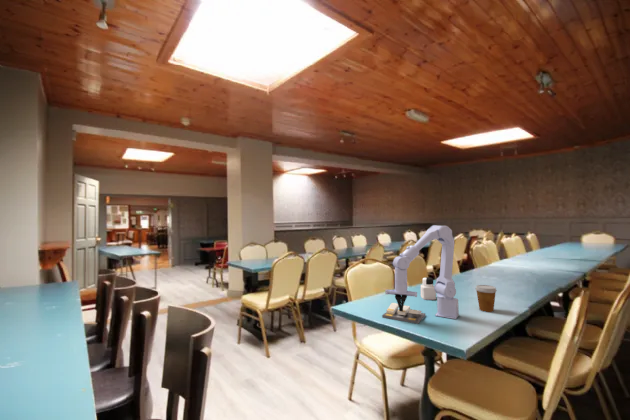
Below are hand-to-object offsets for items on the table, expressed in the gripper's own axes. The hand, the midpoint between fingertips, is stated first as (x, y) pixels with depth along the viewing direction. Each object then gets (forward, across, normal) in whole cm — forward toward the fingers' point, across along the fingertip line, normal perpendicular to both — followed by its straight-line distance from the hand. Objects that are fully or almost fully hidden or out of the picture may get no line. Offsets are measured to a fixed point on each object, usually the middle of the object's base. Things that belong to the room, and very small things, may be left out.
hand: (401, 310), depth 148 cm
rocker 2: (+1, -1, -3) cm, 3 cm away
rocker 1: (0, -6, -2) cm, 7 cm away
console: (+4, -1, -3) cm, 5 cm away
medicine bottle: (+3, -12, -42) cm, 44 cm away
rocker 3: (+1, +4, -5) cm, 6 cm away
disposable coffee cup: (+3, -40, -26) cm, 48 cm away
